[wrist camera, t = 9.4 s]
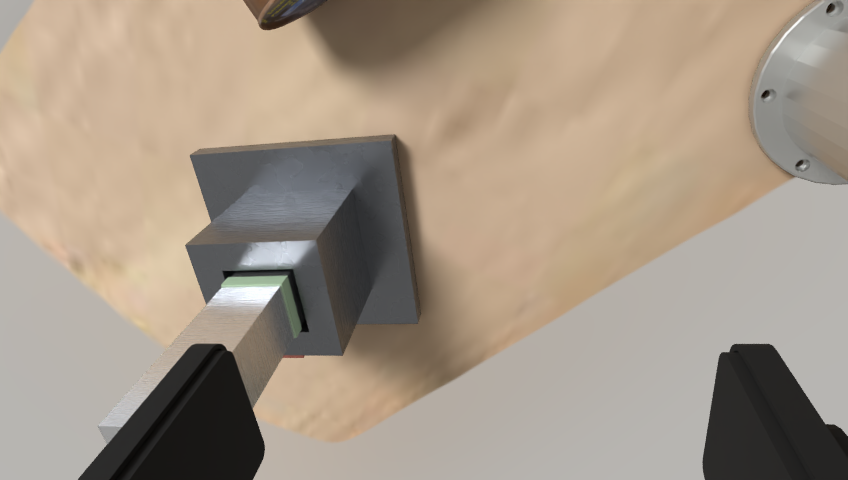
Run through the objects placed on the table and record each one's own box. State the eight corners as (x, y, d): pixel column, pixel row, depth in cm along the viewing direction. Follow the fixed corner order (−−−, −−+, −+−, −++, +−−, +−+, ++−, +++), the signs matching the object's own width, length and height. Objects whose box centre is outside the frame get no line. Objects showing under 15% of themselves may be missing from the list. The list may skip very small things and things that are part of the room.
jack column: (304, 251, 38) (178, 427, 24) (317, 302, 39) (206, 492, 25) (249, 253, 38) (94, 424, 24) (264, 303, 40) (128, 487, 26)
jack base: (394, 134, 40) (360, 184, 31) (420, 313, 47) (398, 394, 38) (199, 149, 43) (118, 198, 34) (251, 315, 50) (195, 390, 41)
